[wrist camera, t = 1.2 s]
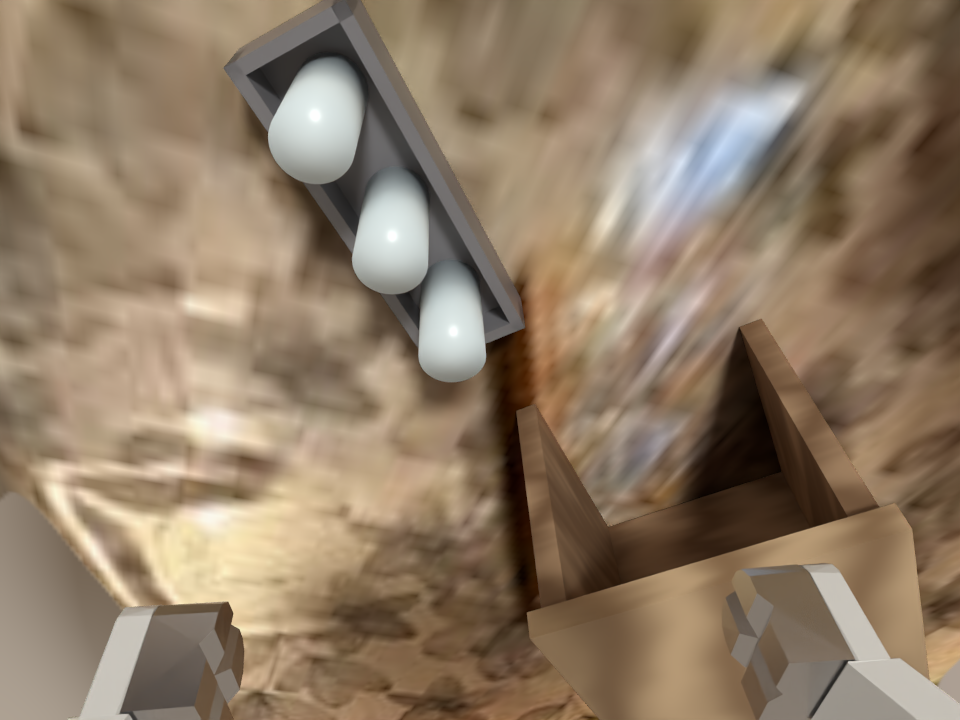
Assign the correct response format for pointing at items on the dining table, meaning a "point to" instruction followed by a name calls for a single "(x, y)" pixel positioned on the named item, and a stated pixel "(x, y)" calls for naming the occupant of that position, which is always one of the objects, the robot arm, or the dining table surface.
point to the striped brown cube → (706, 562)
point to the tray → (378, 150)
